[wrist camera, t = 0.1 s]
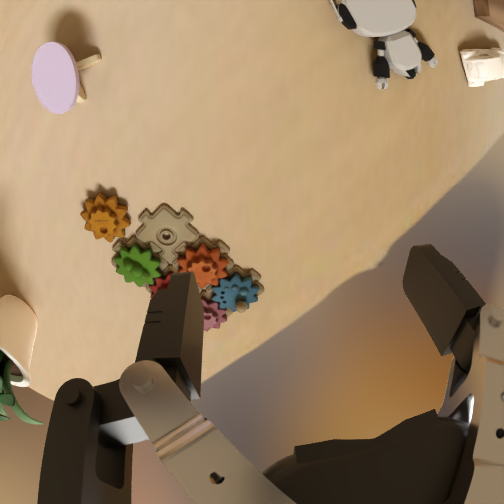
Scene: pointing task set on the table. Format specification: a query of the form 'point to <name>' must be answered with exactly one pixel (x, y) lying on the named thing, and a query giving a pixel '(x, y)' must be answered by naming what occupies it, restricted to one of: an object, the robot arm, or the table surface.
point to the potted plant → (15, 352)
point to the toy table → (58, 77)
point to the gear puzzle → (173, 257)
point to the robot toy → (387, 35)
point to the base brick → (490, 12)
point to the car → (482, 65)
